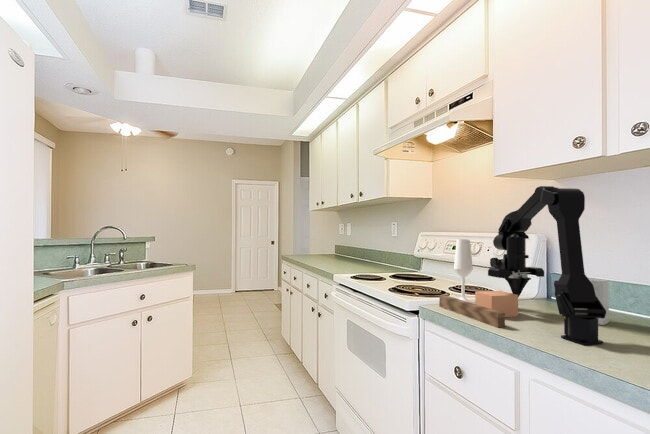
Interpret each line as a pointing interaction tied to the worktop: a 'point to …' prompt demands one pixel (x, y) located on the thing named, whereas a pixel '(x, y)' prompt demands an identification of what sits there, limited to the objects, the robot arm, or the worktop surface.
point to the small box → (602, 297)
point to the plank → (473, 311)
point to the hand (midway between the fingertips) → (516, 297)
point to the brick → (498, 301)
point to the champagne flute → (463, 262)
